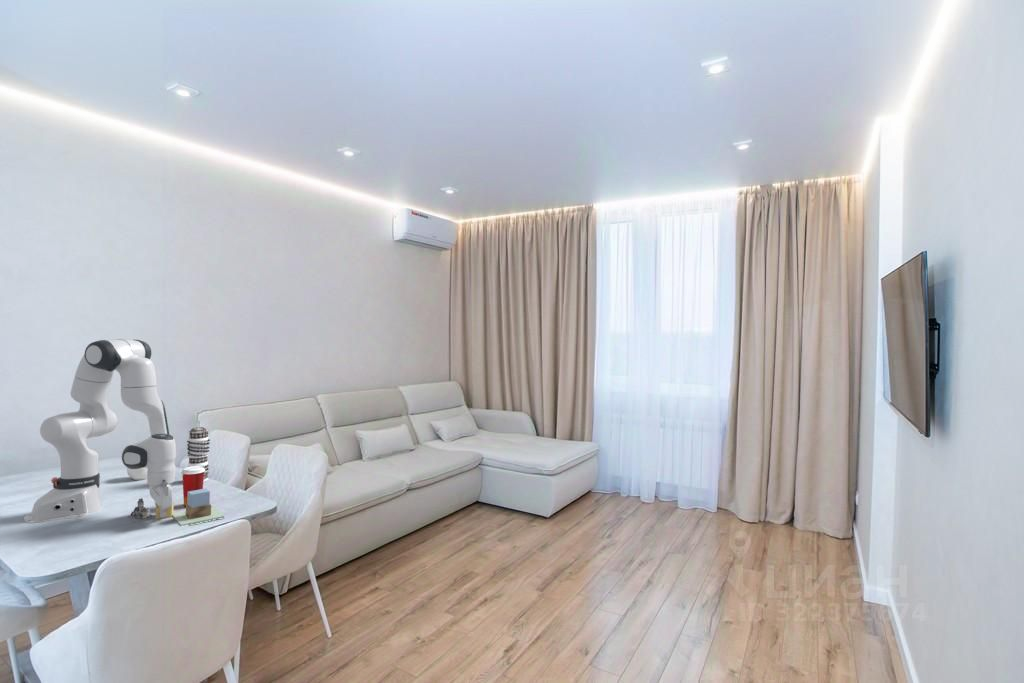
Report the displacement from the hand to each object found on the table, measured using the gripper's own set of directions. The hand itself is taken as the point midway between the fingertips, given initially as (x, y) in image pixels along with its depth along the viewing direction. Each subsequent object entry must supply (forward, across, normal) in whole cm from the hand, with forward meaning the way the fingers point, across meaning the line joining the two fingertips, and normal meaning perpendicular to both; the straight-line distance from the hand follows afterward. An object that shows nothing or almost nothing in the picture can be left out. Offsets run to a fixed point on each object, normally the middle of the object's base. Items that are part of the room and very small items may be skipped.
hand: (160, 514), depth 189 cm
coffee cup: (+2, +10, -13) cm, 16 cm away
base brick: (+1, -8, -10) cm, 13 cm away
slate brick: (-3, -8, -10) cm, 14 cm away
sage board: (+2, -8, -10) cm, 13 cm away
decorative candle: (+2, +47, -23) cm, 53 cm away
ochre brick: (+2, 0, -1) cm, 2 cm away
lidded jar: (+2, +68, -4) cm, 68 cm away
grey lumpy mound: (+2, +6, +3) cm, 7 cm away
